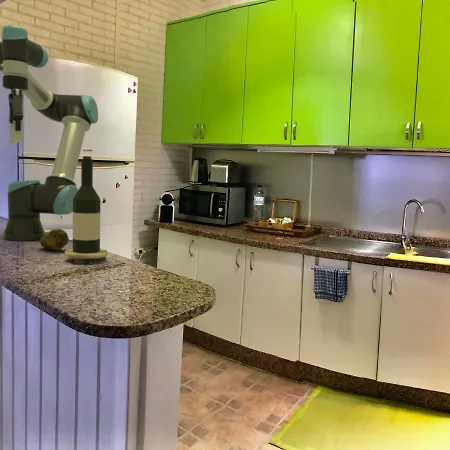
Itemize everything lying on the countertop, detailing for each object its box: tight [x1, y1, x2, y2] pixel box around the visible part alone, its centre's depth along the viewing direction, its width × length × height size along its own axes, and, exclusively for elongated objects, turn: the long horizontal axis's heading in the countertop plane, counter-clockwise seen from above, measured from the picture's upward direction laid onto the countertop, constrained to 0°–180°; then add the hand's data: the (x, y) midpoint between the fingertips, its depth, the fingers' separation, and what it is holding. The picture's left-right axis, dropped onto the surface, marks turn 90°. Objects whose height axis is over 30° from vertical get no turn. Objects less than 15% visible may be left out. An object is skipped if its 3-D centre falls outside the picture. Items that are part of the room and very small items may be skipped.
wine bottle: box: [72, 155, 101, 254], centre depth 144 cm, size 8×8×30 cm
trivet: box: [64, 248, 108, 265], centre depth 146 cm, size 13×13×3 cm
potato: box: [39, 228, 69, 251], centre depth 160 cm, size 8×13×8 cm, turn 31°
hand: (15, 142), depth 152 cm, fingers open, 13 cm apart
